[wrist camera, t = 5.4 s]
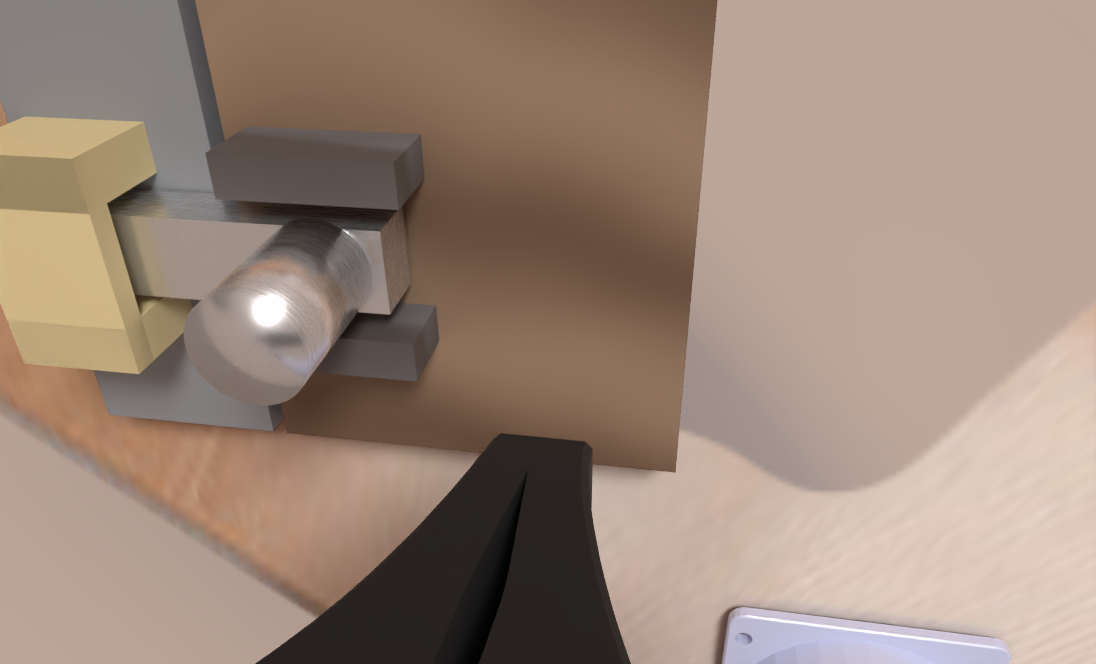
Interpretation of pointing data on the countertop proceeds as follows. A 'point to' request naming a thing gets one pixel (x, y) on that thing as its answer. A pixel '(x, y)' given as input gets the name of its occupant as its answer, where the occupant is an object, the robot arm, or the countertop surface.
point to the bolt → (261, 279)
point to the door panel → (487, 204)
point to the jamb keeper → (104, 194)
